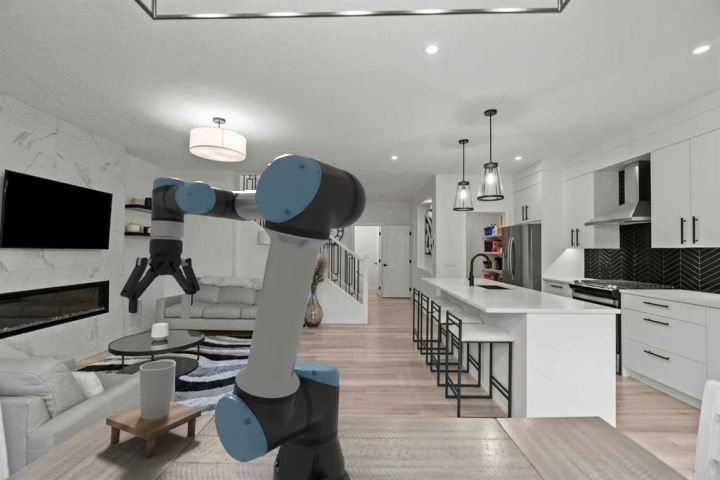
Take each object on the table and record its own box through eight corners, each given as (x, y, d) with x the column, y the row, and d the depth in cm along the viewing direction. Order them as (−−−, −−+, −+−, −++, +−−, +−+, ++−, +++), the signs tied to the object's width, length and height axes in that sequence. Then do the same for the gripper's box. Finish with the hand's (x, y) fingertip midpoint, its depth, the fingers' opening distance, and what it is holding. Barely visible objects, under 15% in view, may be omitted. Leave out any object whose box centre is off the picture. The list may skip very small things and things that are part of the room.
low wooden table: (200, 433, 91) (201, 409, 92) (147, 461, 79) (149, 433, 79) (158, 419, 98) (160, 397, 98) (104, 443, 86) (106, 417, 86)
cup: (156, 423, 84) (159, 371, 85) (128, 418, 86) (131, 368, 86) (180, 409, 92) (182, 362, 92) (153, 405, 93) (156, 359, 94)
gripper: (196, 241, 104) (193, 314, 103) (106, 235, 81) (100, 329, 80) (215, 241, 101) (212, 316, 100) (126, 235, 78) (120, 332, 77)
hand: (162, 322), depth 90 cm, fingers open, 13 cm apart
